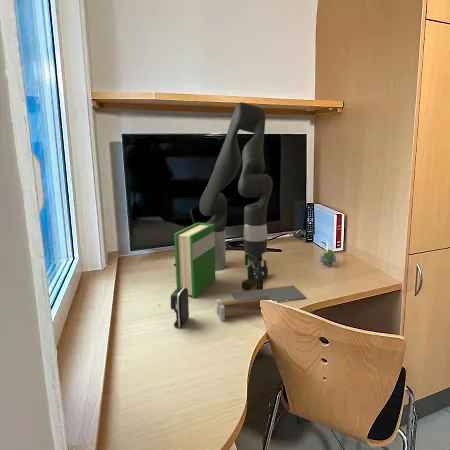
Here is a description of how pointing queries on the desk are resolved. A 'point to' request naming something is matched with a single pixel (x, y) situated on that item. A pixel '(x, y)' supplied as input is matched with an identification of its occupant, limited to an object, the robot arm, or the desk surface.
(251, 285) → the dark brown bar
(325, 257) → the geometric puzzle
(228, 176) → the robot arm
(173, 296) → the battery charger
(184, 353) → the desk surface
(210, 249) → the hardback book
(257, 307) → the stick
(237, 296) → the mat
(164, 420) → the desk surface
